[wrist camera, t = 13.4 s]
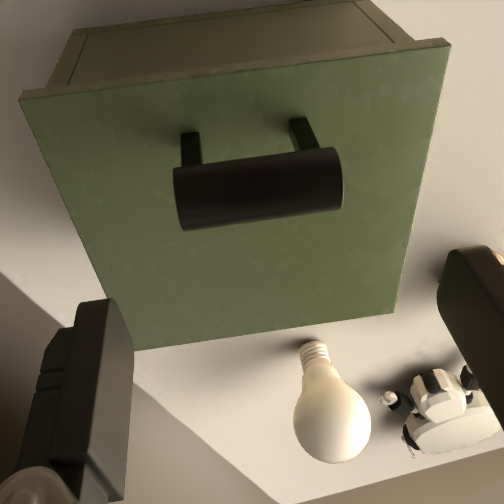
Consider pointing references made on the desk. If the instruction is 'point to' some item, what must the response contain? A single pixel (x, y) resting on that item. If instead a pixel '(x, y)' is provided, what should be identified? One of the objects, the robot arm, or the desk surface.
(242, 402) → the desk surface
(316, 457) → the lightbulb
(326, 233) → the green handled lid
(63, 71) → the green box
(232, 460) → the desk surface
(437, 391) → the robot toy
